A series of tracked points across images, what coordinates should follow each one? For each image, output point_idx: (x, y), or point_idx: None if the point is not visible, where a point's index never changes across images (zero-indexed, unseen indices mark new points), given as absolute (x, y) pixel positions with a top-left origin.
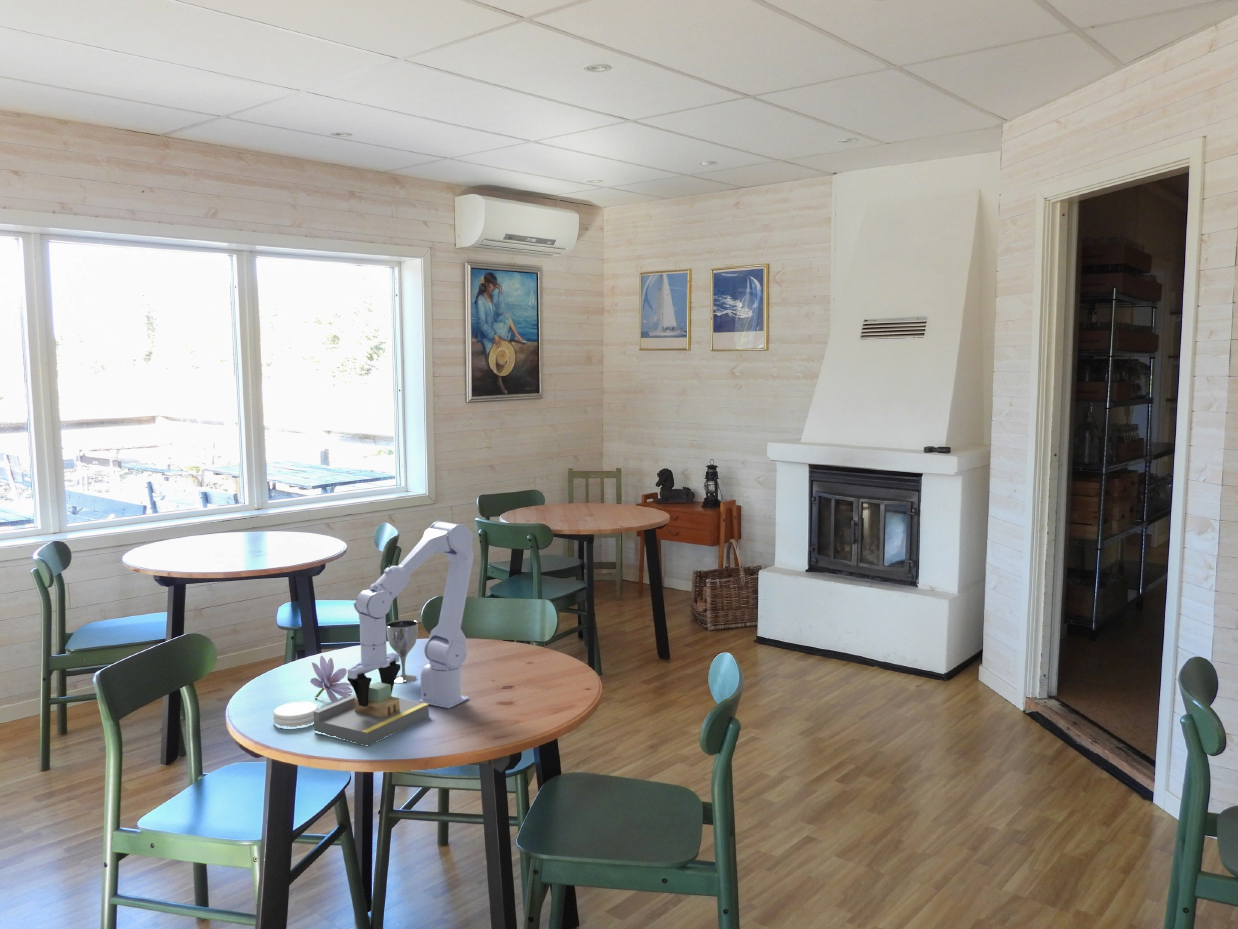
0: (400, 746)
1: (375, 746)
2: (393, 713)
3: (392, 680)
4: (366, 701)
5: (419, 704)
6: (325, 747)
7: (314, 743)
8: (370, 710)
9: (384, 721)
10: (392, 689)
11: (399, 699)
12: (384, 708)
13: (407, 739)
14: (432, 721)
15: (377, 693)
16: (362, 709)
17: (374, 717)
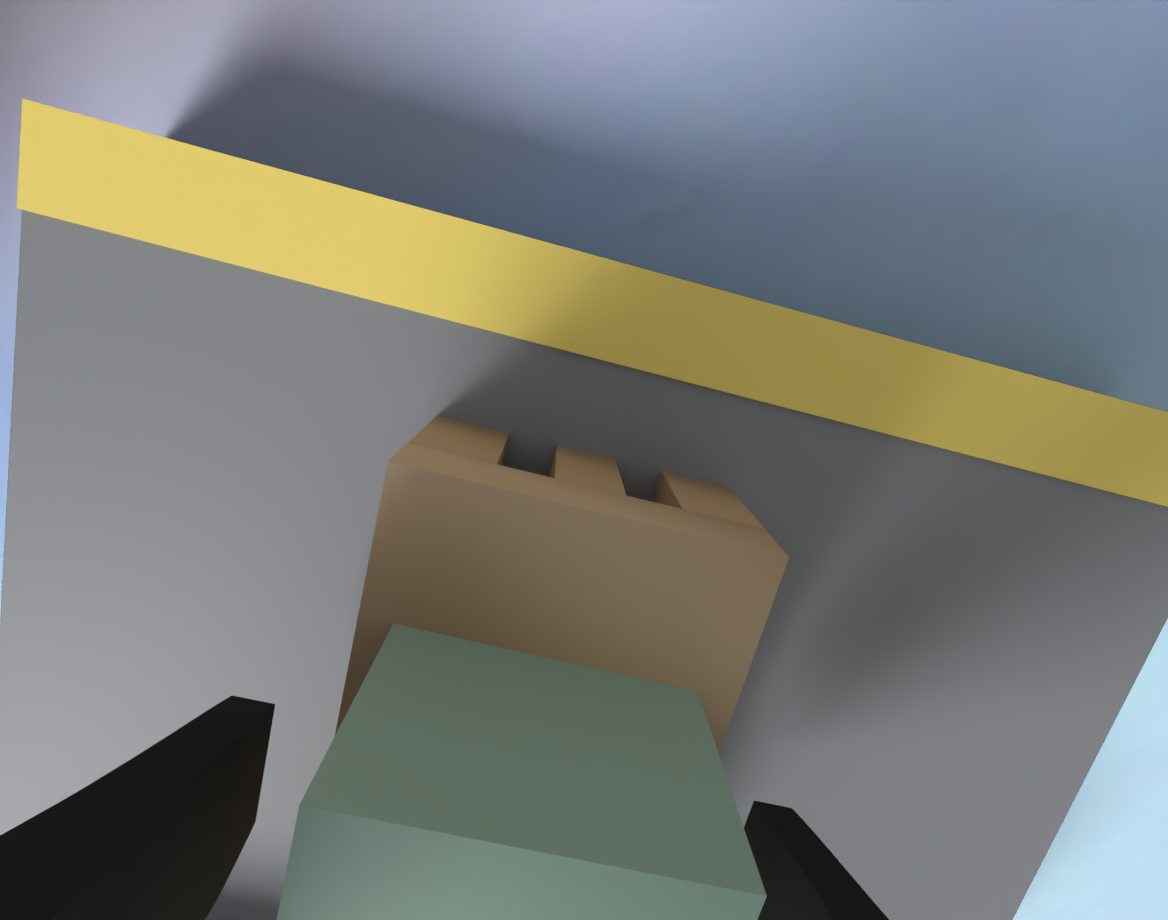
0: (1092, 45)
1: (1104, 330)
2: (557, 446)
3: (22, 909)
4: (836, 863)
5: (98, 249)
6: (1143, 751)
7: (1062, 870)
8: None
9: (873, 412)
10: (158, 745)
11: (45, 628)
12: (753, 531)
13: (884, 65)
14: (276, 24)
15: (727, 838)
16: None
17: None
